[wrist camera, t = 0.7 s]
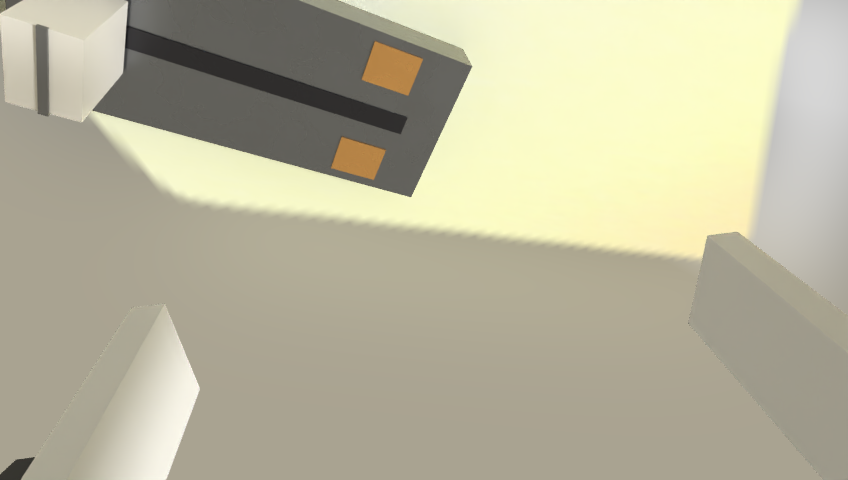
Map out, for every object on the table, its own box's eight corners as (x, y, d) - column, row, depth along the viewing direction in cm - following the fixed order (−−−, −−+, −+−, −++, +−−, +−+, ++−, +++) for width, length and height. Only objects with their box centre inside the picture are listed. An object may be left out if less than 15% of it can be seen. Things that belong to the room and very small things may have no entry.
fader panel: (29, -121, 26) (-3, -114, 23) (462, 49, 34) (472, 66, 31) (34, 67, 31) (9, 88, 29) (406, 174, 39) (411, 197, 37)
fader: (60, -23, 25) (-3, 13, 21) (128, 0, 26) (83, 40, 22) (60, 55, 28) (3, 104, 23) (122, 74, 29) (80, 124, 24)
